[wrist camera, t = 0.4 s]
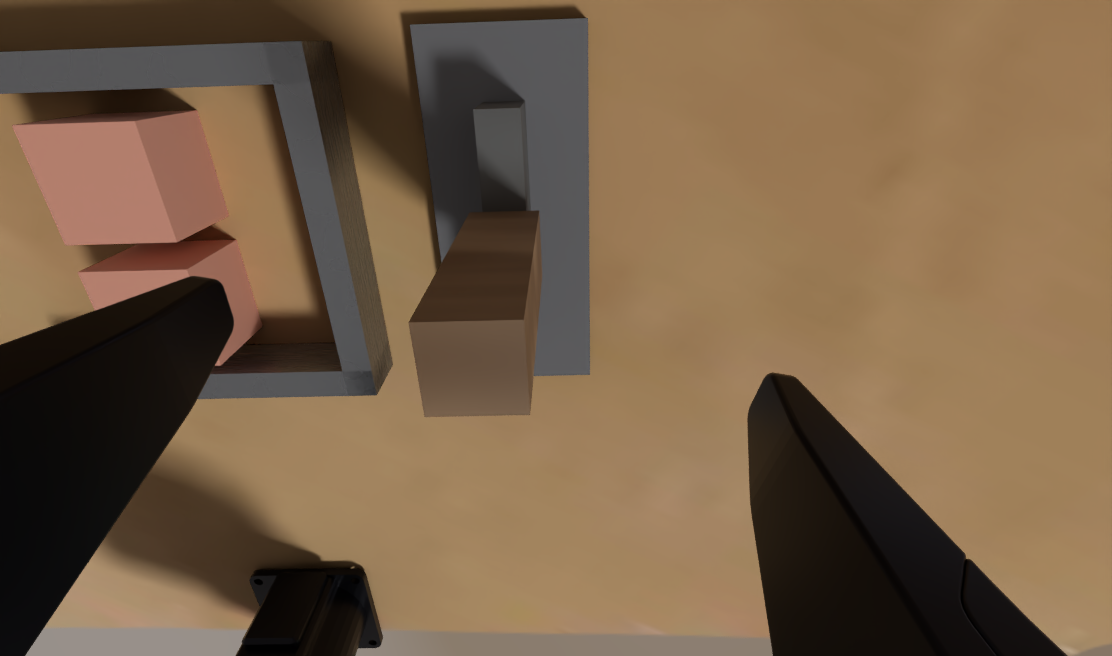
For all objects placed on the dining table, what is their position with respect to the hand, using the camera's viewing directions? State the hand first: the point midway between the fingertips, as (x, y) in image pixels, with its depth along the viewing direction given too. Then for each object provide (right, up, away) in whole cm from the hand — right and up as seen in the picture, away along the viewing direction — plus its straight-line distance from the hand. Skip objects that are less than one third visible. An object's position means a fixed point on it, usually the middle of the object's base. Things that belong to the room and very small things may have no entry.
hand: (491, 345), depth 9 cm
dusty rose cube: (-14, +7, +13) cm, 20 cm away
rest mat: (-1, +5, +13) cm, 14 cm away
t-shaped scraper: (-1, +4, +13) cm, 13 cm away
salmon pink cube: (-14, +2, +15) cm, 21 cm away
